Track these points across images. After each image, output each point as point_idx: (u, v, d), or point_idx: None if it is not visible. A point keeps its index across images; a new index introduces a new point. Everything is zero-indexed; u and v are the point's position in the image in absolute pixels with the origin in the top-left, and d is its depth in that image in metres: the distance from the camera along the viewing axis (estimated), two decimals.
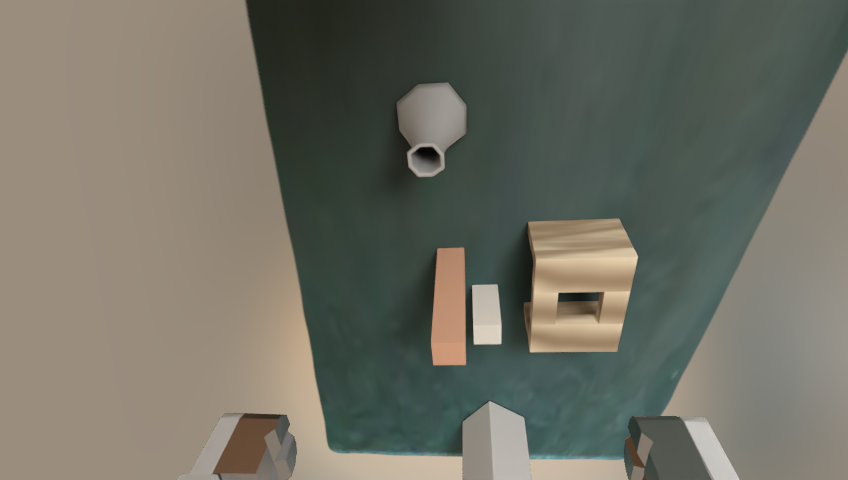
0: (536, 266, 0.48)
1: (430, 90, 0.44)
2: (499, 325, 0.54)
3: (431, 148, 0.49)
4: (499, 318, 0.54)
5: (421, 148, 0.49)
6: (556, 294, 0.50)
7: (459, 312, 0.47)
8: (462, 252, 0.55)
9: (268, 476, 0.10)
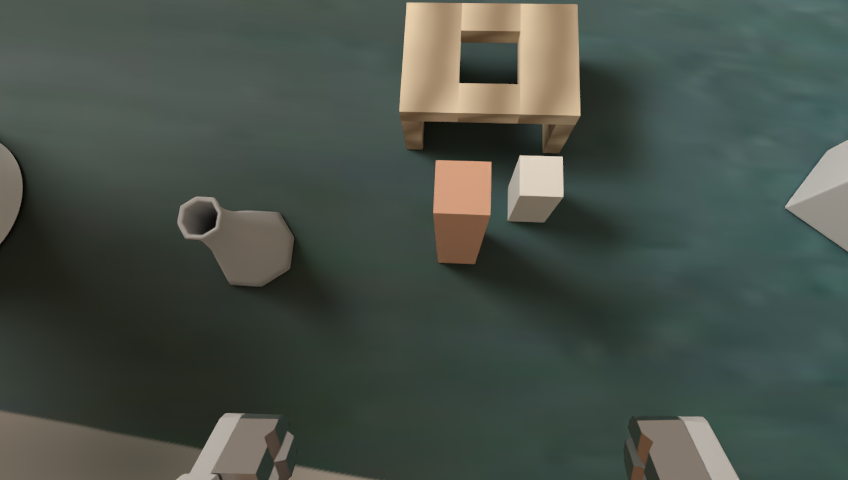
0: (411, 110, 0.37)
1: None
2: (521, 158, 0.35)
3: None
4: (517, 162, 0.36)
5: None
6: (462, 85, 0.37)
7: None
8: None
9: (268, 476, 0.10)
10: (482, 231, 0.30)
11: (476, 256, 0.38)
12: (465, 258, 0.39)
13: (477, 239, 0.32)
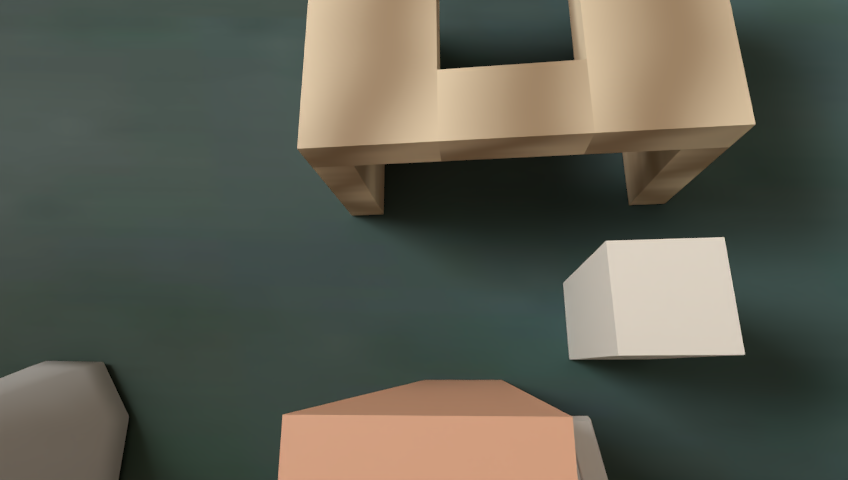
0: (325, 143, 0.15)
1: None
2: (610, 247, 0.13)
3: (118, 451, 0.20)
4: (597, 254, 0.14)
5: None
6: (444, 74, 0.15)
7: None
8: None
9: None
10: None
11: None
12: None
13: None
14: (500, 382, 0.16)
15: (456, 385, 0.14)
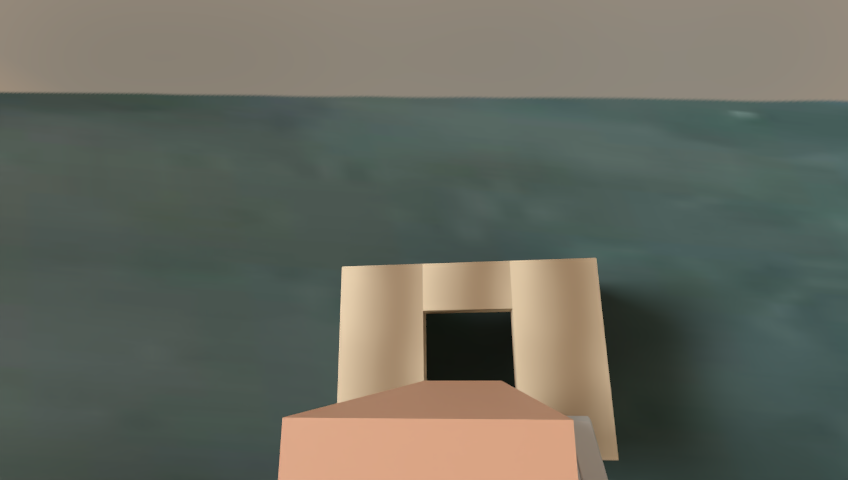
0: None
1: None
2: None
3: None
4: None
5: None
6: None
7: None
8: None
9: None
10: None
11: None
12: None
13: None
14: (500, 383, 0.16)
15: (456, 386, 0.14)
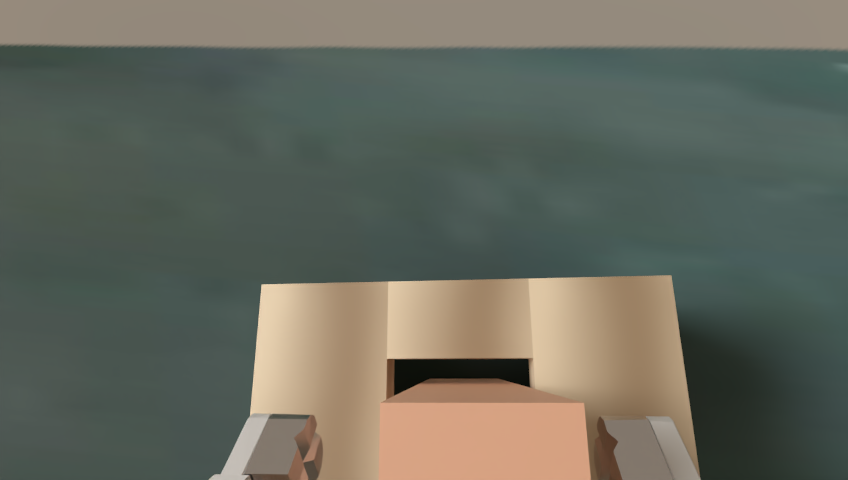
0: None
1: None
2: None
3: None
4: None
5: None
6: None
7: None
8: None
9: (299, 477, 0.10)
10: None
11: None
12: None
13: None
14: None
15: (466, 383, 0.16)
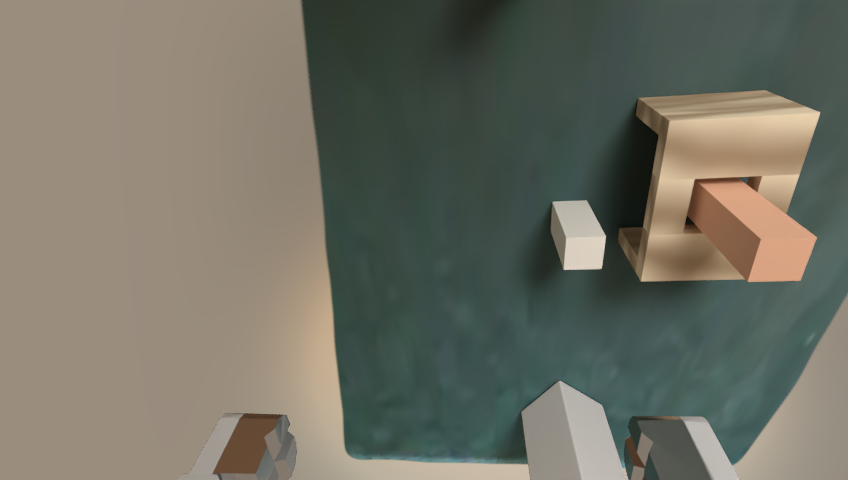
0: (669, 133, 0.34)
1: None
2: (603, 237, 0.39)
3: None
4: (601, 230, 0.40)
5: None
6: (691, 182, 0.36)
7: (770, 209, 0.32)
8: None
9: (268, 476, 0.10)
10: (721, 250, 0.34)
11: None
12: None
13: (708, 233, 0.35)
14: None
15: None
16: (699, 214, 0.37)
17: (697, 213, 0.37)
